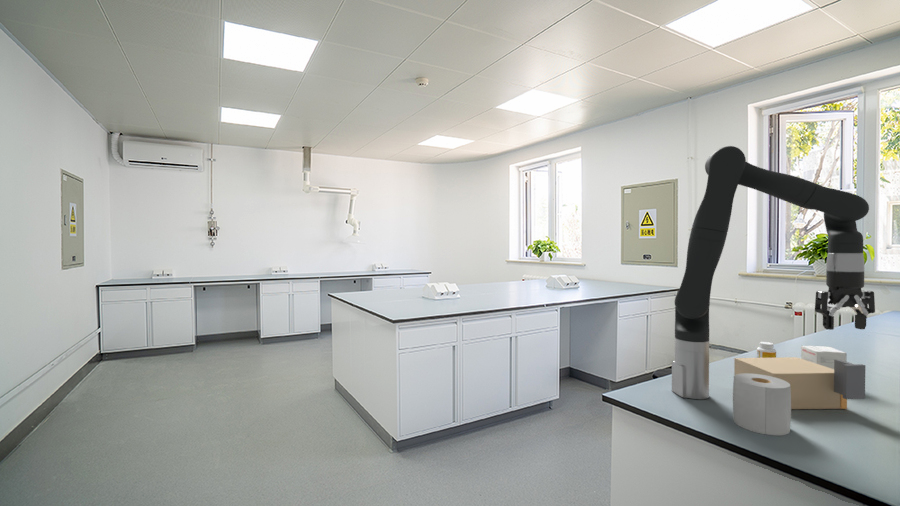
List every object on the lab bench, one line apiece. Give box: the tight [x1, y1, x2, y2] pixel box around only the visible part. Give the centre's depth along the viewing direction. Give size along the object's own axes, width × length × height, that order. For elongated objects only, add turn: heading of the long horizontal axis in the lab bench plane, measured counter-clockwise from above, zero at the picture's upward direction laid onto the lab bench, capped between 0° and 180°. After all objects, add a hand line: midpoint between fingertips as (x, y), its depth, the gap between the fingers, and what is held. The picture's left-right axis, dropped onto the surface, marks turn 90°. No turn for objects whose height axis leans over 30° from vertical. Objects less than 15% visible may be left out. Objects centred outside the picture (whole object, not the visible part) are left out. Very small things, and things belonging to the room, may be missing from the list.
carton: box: [733, 356, 834, 377], centre depth 125 cm, size 20×16×10 cm
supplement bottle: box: [756, 341, 777, 358], centre depth 151 cm, size 6×6×10 cm
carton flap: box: [774, 360, 866, 410], centre depth 114 cm, size 20×6×14 cm, turn 90°
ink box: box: [800, 345, 848, 369], centre depth 137 cm, size 9×8×12 cm
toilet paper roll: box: [732, 373, 792, 437], centre depth 107 cm, size 12×12×12 cm
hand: (844, 329), depth 114 cm, fingers open, 8 cm apart
